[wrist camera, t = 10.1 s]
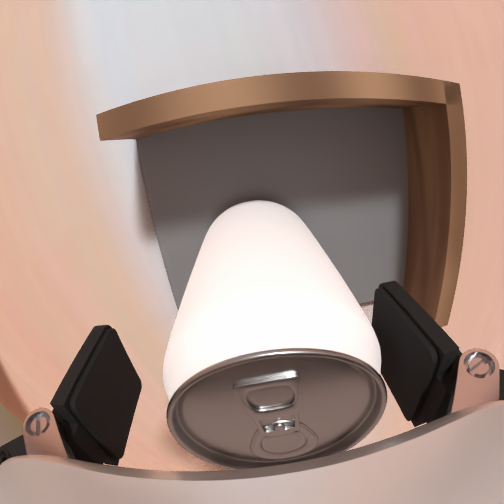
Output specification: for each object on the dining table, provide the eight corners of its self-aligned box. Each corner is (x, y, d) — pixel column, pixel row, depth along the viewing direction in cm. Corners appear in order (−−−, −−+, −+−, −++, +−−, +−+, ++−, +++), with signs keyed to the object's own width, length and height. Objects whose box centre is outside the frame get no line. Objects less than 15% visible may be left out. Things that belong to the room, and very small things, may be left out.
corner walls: (185, 324, 20) (171, 374, 15) (136, 119, 15) (96, 114, 10) (413, 288, 19) (447, 324, 15) (411, 91, 14) (459, 83, 9)
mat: (185, 324, 20) (184, 329, 19) (136, 119, 15) (132, 119, 14) (413, 288, 19) (416, 291, 19) (411, 91, 14) (415, 90, 14)
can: (219, 307, 19) (200, 482, 7) (190, 212, 16) (100, 356, 5) (317, 287, 18) (386, 451, 7) (302, 188, 16) (419, 296, 5)
